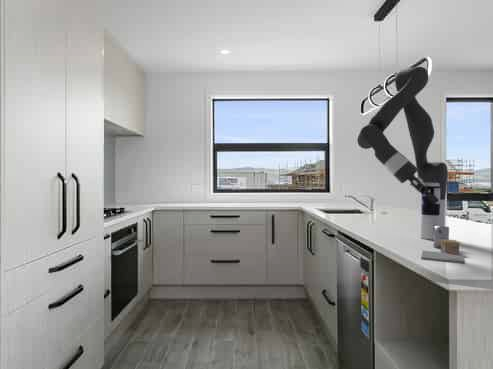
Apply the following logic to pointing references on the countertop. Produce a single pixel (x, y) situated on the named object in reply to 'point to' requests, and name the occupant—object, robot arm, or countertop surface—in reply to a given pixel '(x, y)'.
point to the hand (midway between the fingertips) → (436, 201)
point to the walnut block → (450, 246)
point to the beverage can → (427, 205)
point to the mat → (442, 256)
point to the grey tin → (440, 235)
